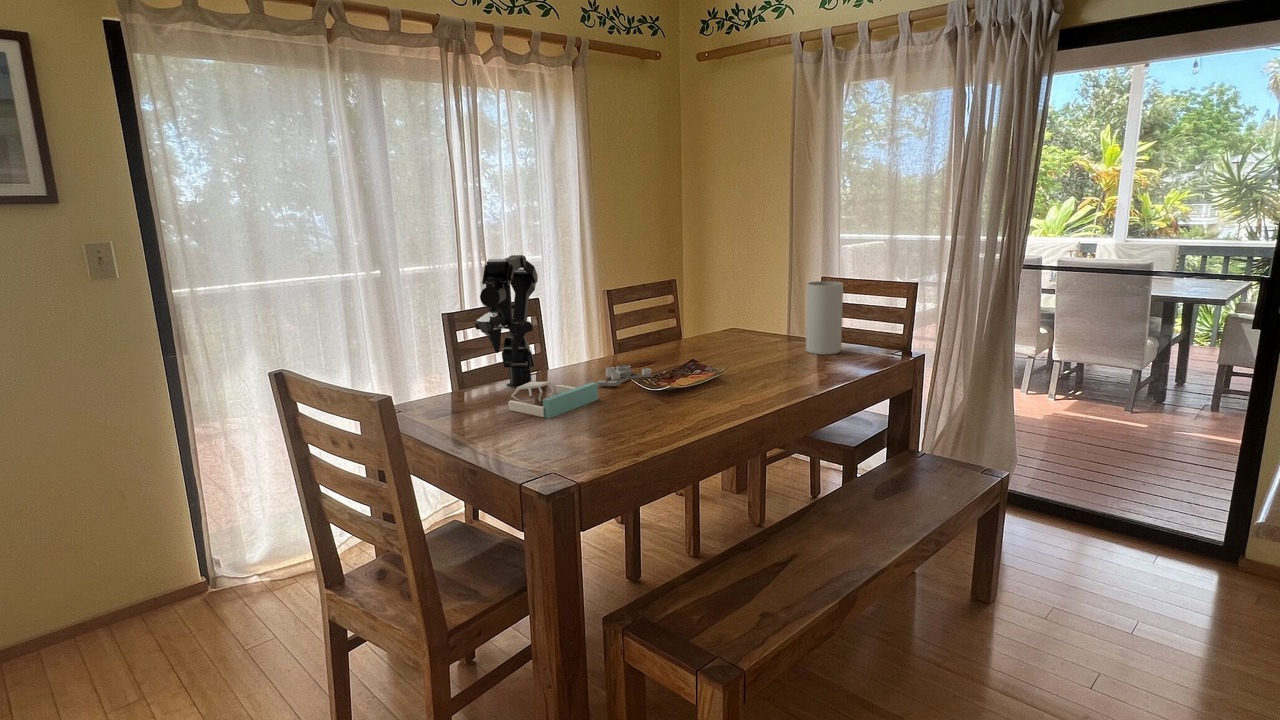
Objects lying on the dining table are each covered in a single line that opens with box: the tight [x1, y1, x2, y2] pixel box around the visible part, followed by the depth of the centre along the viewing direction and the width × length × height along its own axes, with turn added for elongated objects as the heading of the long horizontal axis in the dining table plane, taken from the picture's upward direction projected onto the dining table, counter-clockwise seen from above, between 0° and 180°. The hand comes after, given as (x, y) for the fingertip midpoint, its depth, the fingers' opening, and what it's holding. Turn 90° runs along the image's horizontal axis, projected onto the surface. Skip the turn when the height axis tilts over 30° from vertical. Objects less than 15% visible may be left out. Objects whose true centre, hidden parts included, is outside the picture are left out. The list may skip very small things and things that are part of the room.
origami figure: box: [510, 381, 555, 402], centre depth 209 cm, size 12×8×5 cm
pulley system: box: [596, 364, 666, 388], centre depth 230 cm, size 27×5×15 cm
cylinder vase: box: [805, 280, 844, 356], centre depth 257 cm, size 12×12×25 cm
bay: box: [508, 381, 599, 419], centre depth 203 cm, size 16×21×5 cm
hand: (505, 353), depth 211 cm, fingers open, 7 cm apart
